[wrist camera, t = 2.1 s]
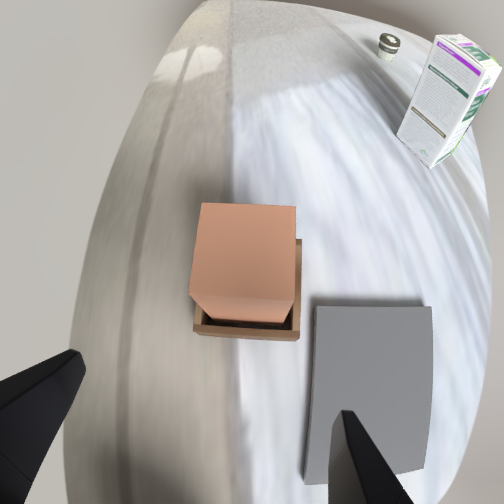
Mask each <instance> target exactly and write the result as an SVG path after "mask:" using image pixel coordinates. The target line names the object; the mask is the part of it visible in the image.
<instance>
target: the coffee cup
mask: <svg viewBox="0 0 504 504" xmlns="http://www.w3.org/2000/svg"><path fill="white" fill-rule="evenodd" d="M398 47H400V40H399V39H398V38H397V37H395V36H393V35H391V34H387V33H382V34H381V36H380V42H379V52H378V57H379V58H380V59H382V60H384V61H386V62H392V60H393V58H394V56H395V54H396V53H397V50H398Z"/></svg>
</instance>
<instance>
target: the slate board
mask: <svg viewBox="0 0 504 504" xmlns="http://www.w3.org/2000/svg"><path fill="white" fill-rule="evenodd" d="M432 385H433V327H432V309H431V306H427V307H347V306H316V307H315V312H314V347H313V370H312V387H311V403H310V416H309V428H308V439H307V450H306V459H305V468H304V477H303V482H304V484H305V485H316V484H328V464H329V454H330V443H331V431H332V425H333V423H334V421H335V419H336V417H337V415H338V413H339V412H340V411H341V410H352V411H354V412H355V414H356V415H357V417H358V418H359V420H360V421H361V423H362V425H363V426H364V428H365V429H366V431H367V432H368V434H369V435H370V437H371V439H372V440H373V442H374V443H375V445H376V446H377V448H378V449H379V451H380V452H381V454H382V456H383V457H384V459H385V460H386V462H387V463H388V465H389V466H390V468H391V470H392V471H393V473H394V474H395V475H396V474H401V473H406V472H410V471H415V470H419V469H423V467H424V462H425V456H426V449H427V442H428V434H429V425H430V415H431V403H432Z"/></svg>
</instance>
